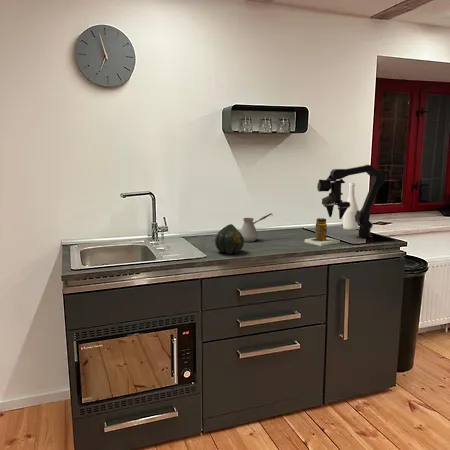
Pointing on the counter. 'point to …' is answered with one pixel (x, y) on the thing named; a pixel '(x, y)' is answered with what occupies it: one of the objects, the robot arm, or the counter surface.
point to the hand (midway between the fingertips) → (335, 218)
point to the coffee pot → (250, 229)
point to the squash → (229, 240)
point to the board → (322, 243)
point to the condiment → (320, 230)
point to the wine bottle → (350, 211)
